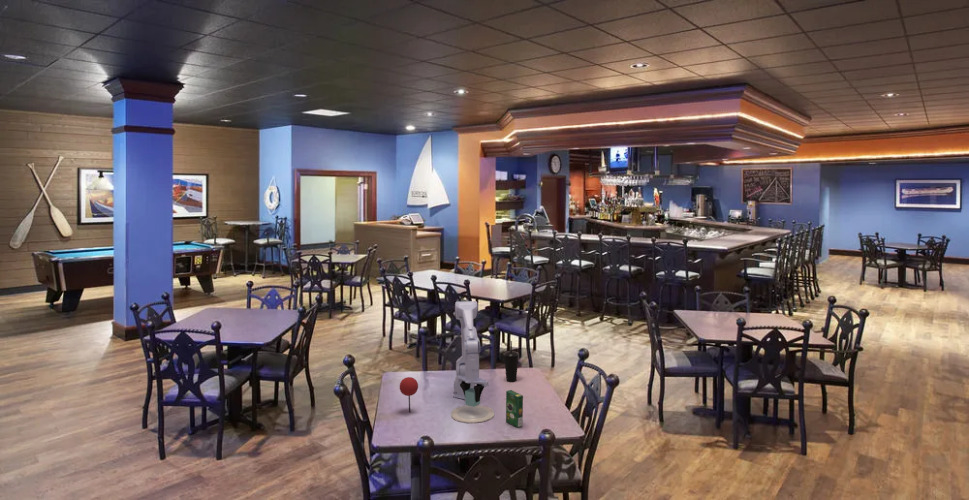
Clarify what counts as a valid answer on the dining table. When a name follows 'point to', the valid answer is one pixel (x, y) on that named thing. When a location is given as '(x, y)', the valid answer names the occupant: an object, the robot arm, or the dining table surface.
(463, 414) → the serving plate
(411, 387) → the lollipop
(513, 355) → the drinking cup
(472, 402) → the teal block
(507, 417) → the coffee box
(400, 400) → the dining table surface
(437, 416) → the dining table surface
